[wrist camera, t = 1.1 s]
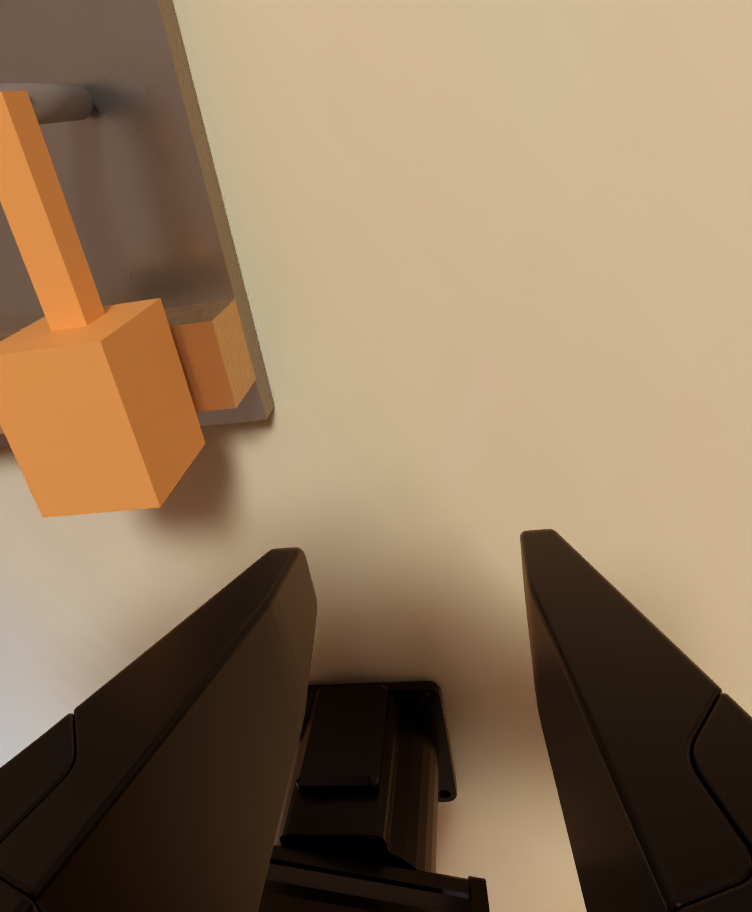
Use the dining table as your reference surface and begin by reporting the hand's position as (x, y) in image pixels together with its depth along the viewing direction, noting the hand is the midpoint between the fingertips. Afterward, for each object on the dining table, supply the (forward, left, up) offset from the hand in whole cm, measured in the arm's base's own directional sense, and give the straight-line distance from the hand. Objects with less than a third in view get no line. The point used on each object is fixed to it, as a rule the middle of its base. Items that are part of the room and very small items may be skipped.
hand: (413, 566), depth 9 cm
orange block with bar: (+2, +8, -11) cm, 13 cm away
